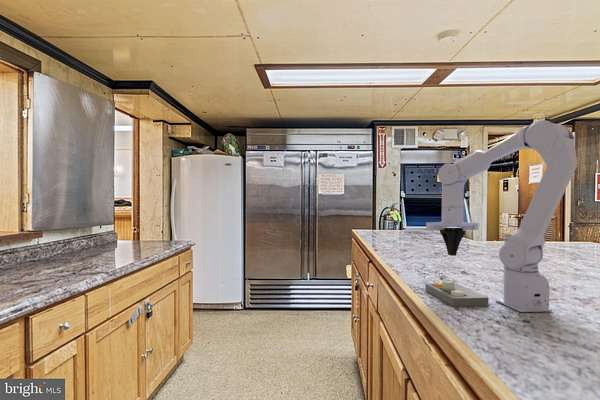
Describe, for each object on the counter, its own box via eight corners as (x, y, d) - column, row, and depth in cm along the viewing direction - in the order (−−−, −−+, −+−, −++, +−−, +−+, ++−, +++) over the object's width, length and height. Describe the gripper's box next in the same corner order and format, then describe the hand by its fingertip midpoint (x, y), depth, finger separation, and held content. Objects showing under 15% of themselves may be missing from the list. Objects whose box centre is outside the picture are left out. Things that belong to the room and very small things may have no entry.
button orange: (447, 293, 101) (447, 284, 101) (437, 293, 100) (437, 284, 100) (442, 290, 104) (442, 282, 104) (432, 290, 103) (432, 282, 103)
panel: (488, 305, 90) (488, 297, 90) (453, 306, 89) (453, 298, 89) (455, 290, 105) (455, 283, 105) (425, 291, 104) (425, 283, 104)
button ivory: (466, 302, 92) (466, 293, 92) (454, 303, 92) (454, 293, 91) (459, 299, 95) (459, 290, 95) (448, 299, 94) (448, 290, 94)
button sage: (456, 292, 96) (456, 283, 96) (445, 292, 96) (445, 283, 96) (450, 289, 99) (450, 280, 99) (440, 290, 99) (440, 281, 99)
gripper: (468, 206, 110) (468, 252, 110) (421, 206, 109) (421, 253, 109) (483, 207, 103) (482, 256, 103) (433, 207, 102) (432, 257, 102)
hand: (452, 255), depth 106 cm, fingers closed
